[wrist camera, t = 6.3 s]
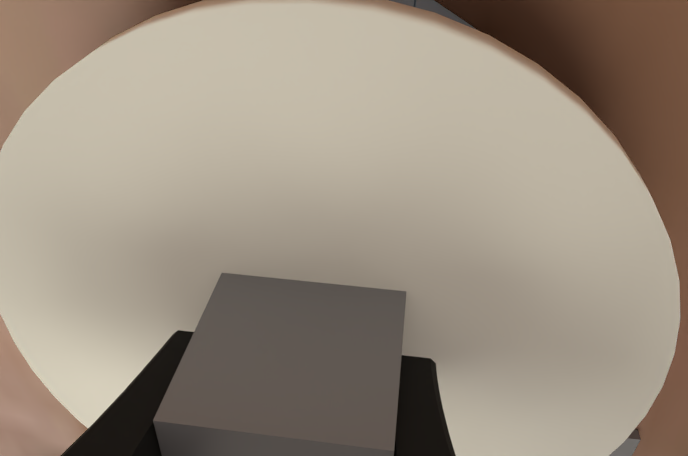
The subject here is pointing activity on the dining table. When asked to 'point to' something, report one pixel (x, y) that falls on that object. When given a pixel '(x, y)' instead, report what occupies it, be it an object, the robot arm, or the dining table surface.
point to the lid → (334, 236)
